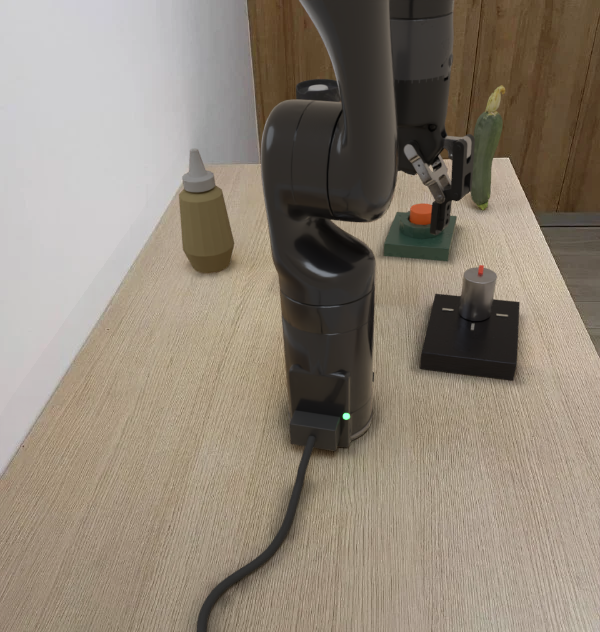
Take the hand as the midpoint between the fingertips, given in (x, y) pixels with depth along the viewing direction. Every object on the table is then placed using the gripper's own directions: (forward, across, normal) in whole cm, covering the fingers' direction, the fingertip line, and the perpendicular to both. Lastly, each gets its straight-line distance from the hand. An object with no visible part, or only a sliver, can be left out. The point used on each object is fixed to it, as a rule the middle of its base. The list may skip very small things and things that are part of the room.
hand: (403, 223), depth 72 cm
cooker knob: (+14, +7, +8) cm, 17 cm away
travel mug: (+17, -34, +32) cm, 49 cm away
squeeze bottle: (+16, -35, +3) cm, 39 cm away
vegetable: (+17, -9, +43) cm, 47 cm away
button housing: (+16, -11, +26) cm, 33 cm away
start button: (+13, -11, +27) cm, 31 cm away
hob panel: (+16, +8, +5) cm, 19 cm away
